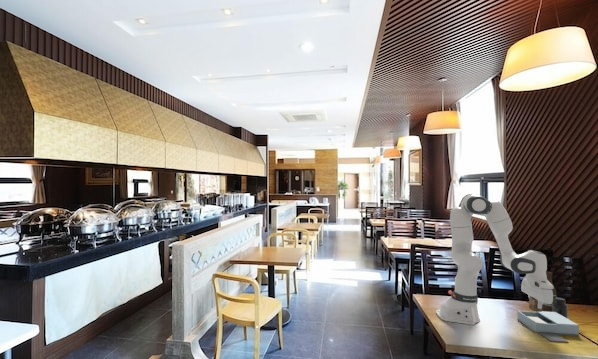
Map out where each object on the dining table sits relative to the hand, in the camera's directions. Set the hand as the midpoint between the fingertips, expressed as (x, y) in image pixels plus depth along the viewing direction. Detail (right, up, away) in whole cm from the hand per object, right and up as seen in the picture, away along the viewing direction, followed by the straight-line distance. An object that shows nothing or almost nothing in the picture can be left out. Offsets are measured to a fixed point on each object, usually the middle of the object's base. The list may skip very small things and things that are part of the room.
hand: (535, 306), depth 162 cm
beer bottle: (+25, -12, +21) cm, 34 cm away
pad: (-1, -11, -13) cm, 17 cm away
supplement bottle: (+21, -12, +9) cm, 26 cm away
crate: (+5, -11, -1) cm, 12 cm away
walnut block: (0, -2, 0) cm, 2 cm away
